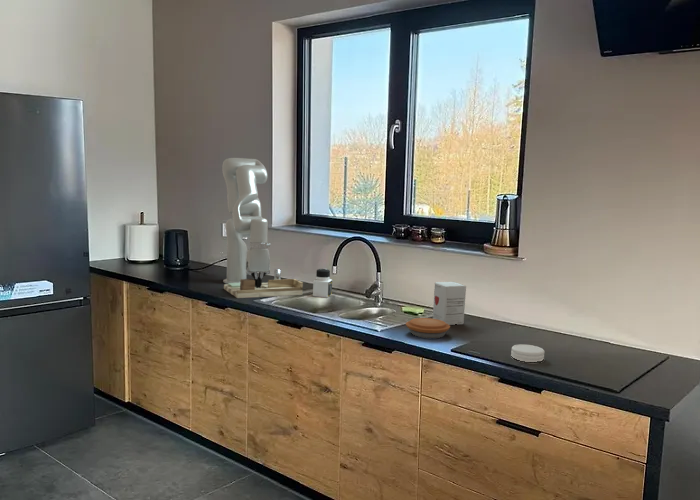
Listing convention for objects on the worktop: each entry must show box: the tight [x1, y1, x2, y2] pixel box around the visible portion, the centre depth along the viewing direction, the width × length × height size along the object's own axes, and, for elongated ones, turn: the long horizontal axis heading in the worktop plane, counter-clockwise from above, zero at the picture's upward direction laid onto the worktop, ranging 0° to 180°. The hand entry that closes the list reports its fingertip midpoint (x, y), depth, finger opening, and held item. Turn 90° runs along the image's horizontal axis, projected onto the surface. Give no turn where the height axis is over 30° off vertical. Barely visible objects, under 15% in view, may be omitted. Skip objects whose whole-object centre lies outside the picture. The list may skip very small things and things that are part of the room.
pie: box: [405, 317, 451, 339], centre depth 218 cm, size 16×16×5 cm
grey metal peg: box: [273, 268, 282, 280], centre depth 291 cm, size 3×3×7 cm
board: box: [223, 278, 304, 299], centre depth 282 cm, size 22×30×6 cm
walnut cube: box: [240, 278, 255, 290], centre depth 272 cm, size 5×5×5 cm
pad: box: [228, 283, 240, 288], centre depth 283 cm, size 7×7×1 cm
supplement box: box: [432, 281, 467, 326], centre depth 237 cm, size 9×9×15 cm
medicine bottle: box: [312, 268, 333, 298], centre depth 279 cm, size 7×7×12 cm
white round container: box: [510, 344, 545, 362], centre depth 194 cm, size 10×10×4 cm
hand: (257, 287), depth 275 cm, fingers closed
